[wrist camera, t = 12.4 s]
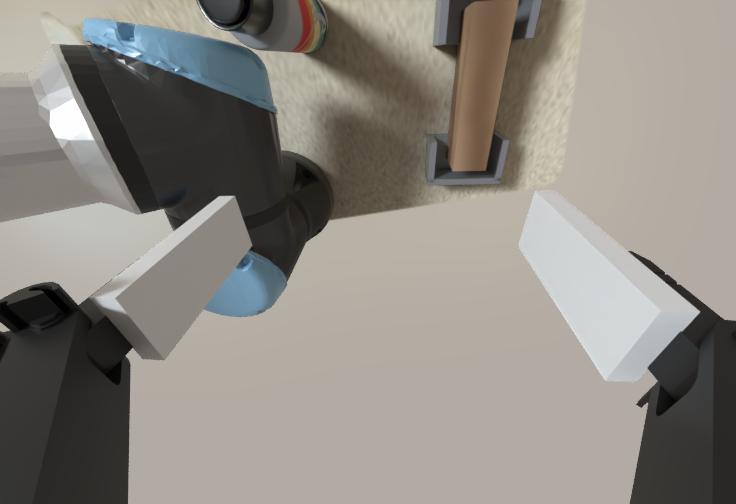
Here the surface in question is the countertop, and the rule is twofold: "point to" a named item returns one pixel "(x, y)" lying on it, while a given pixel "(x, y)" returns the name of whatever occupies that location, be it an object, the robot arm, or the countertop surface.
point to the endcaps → (436, 164)
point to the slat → (478, 81)
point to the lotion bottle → (270, 23)
